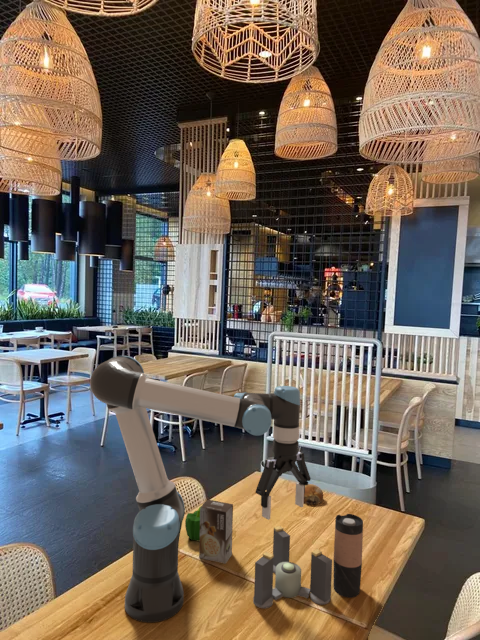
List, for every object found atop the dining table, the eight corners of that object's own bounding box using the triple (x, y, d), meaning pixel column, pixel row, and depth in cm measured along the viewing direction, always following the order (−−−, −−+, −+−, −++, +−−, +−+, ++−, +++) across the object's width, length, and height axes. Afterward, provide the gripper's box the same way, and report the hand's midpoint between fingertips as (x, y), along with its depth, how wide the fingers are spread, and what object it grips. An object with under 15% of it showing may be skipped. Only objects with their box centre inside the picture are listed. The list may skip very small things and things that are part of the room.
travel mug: (355, 602, 118) (358, 529, 118) (328, 592, 122) (331, 521, 122) (364, 588, 125) (366, 518, 124) (337, 578, 129) (340, 510, 128)
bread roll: (324, 509, 182) (328, 488, 185) (316, 506, 174) (320, 485, 177) (302, 502, 187) (306, 483, 190) (293, 500, 179) (297, 479, 182)
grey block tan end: (292, 572, 130) (294, 532, 130) (277, 577, 128) (279, 536, 128) (283, 563, 135) (284, 524, 135) (268, 567, 133) (269, 528, 132)
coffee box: (232, 554, 140) (234, 503, 139) (225, 564, 134) (227, 512, 133) (206, 547, 143) (207, 498, 143) (197, 558, 137) (199, 506, 137)
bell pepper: (194, 547, 143) (195, 516, 143) (180, 537, 149) (181, 507, 149) (215, 539, 149) (216, 509, 148) (200, 529, 155) (201, 501, 154)
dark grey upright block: (265, 611, 113) (267, 565, 113) (249, 602, 116) (250, 558, 116) (276, 600, 118) (278, 556, 117) (260, 592, 121) (261, 549, 120)
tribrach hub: (274, 605, 116) (274, 580, 116) (259, 580, 127) (260, 557, 126) (313, 598, 120) (314, 573, 119) (296, 574, 130) (297, 551, 130)
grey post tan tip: (334, 599, 119) (335, 556, 118) (320, 607, 116) (322, 562, 115) (319, 589, 123) (320, 547, 123) (306, 596, 120) (307, 553, 119)
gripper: (305, 430, 140) (302, 496, 141) (244, 443, 125) (242, 517, 125) (323, 436, 134) (321, 505, 135) (262, 450, 119) (259, 528, 119)
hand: (283, 511), depth 130 cm, fingers open, 13 cm apart
